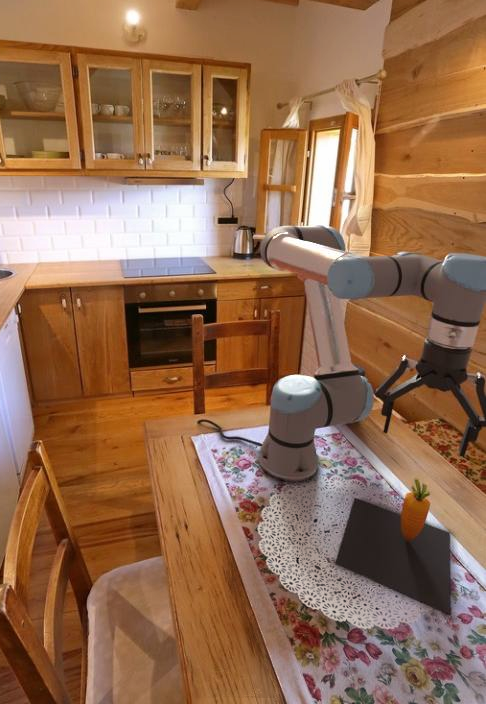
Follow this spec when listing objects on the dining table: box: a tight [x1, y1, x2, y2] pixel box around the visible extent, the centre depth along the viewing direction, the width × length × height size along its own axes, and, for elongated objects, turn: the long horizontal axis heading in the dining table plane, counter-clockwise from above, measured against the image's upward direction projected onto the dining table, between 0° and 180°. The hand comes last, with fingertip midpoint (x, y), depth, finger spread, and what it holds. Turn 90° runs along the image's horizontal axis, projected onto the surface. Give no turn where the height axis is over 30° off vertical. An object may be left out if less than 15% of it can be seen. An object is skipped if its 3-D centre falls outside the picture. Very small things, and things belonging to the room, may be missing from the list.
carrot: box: [400, 477, 431, 541], centre depth 83 cm, size 5×5×15 cm
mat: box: [334, 497, 451, 616], centre depth 83 cm, size 20×20×1 cm
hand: (422, 440), depth 80 cm, fingers open, 13 cm apart
